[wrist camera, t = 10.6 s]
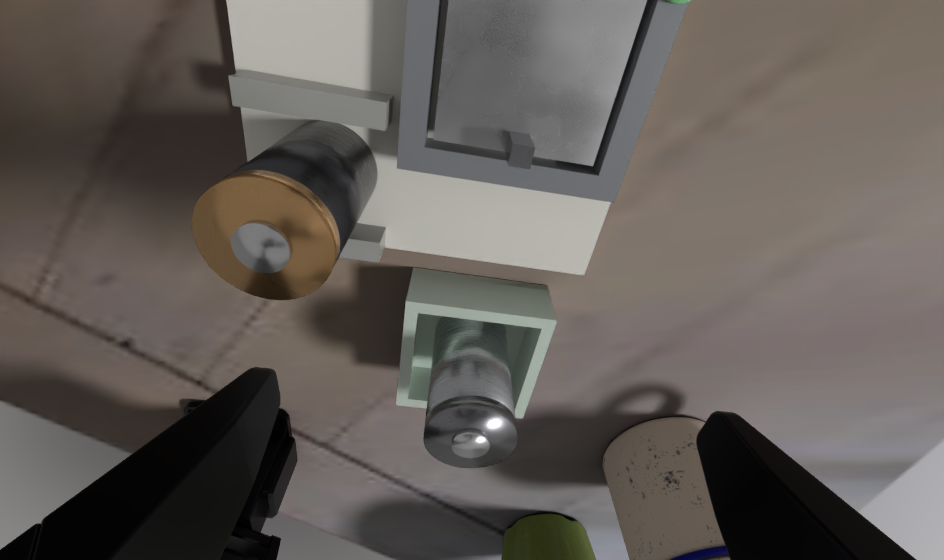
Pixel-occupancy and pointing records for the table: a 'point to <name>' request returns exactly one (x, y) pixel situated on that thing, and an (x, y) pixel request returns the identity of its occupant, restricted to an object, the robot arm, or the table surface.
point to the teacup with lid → (663, 492)
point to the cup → (479, 300)
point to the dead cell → (470, 395)
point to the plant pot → (546, 539)
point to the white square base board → (432, 129)
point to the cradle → (533, 75)
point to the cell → (287, 211)
